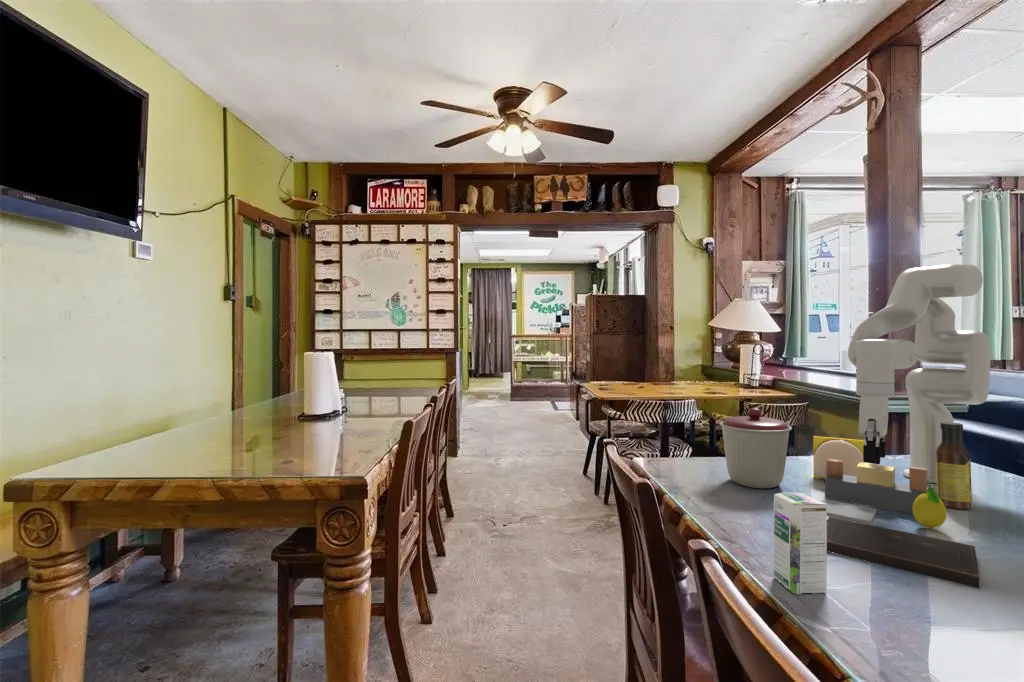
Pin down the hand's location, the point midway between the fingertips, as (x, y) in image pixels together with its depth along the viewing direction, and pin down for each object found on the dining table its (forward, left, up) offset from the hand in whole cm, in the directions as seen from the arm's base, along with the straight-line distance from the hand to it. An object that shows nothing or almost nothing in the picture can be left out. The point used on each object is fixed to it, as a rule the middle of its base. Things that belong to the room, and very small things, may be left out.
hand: (874, 459), depth 119 cm
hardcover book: (+30, +6, -12) cm, 33 cm away
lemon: (+12, +11, -11) cm, 19 cm away
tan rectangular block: (-1, 0, -6) cm, 6 cm away
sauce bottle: (-11, +14, -11) cm, 21 cm away
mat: (+11, -4, -11) cm, 16 cm away
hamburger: (-16, -10, -11) cm, 22 cm away
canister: (+1, -27, -11) cm, 29 cm away
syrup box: (+56, -4, -11) cm, 58 cm away
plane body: (-1, 0, -11) cm, 11 cm away
